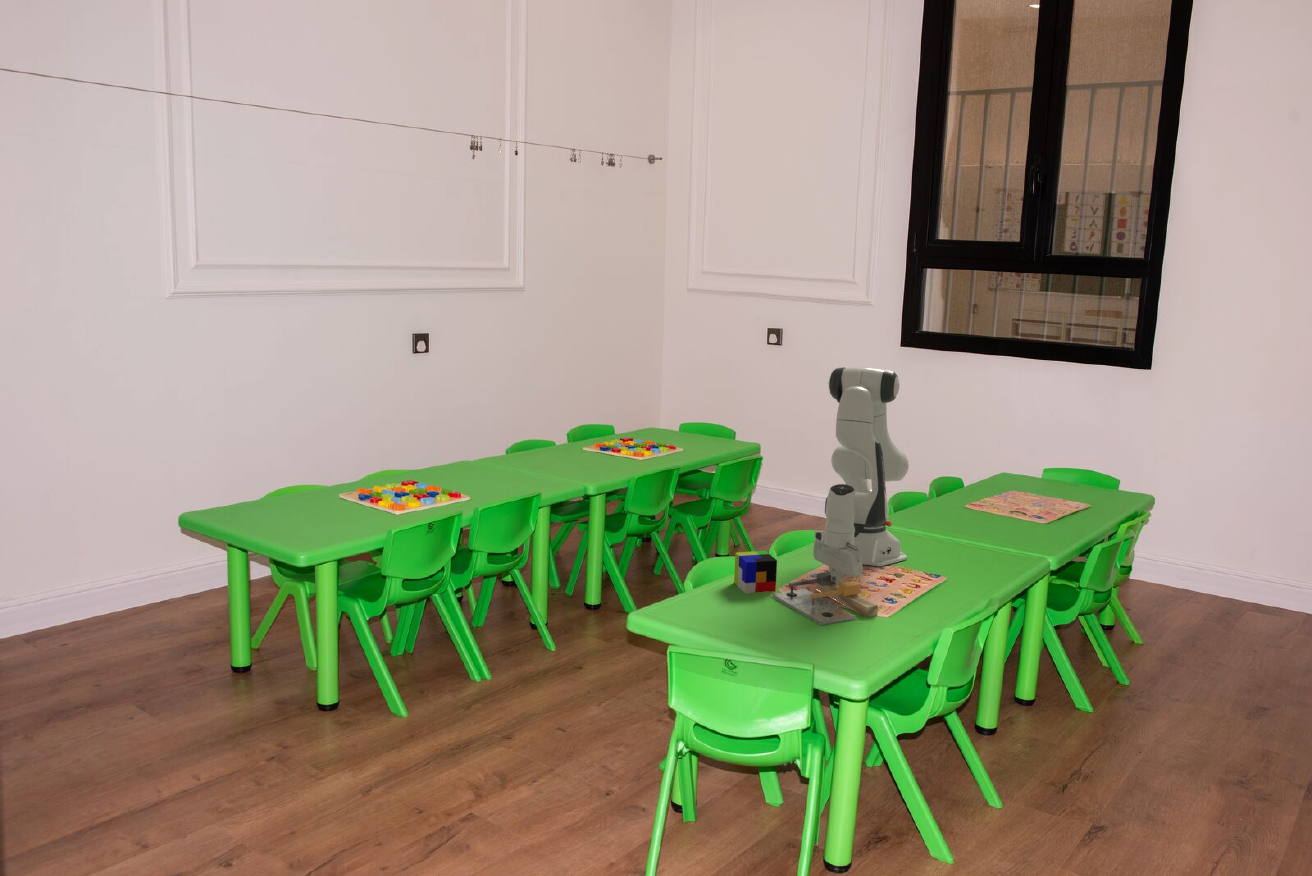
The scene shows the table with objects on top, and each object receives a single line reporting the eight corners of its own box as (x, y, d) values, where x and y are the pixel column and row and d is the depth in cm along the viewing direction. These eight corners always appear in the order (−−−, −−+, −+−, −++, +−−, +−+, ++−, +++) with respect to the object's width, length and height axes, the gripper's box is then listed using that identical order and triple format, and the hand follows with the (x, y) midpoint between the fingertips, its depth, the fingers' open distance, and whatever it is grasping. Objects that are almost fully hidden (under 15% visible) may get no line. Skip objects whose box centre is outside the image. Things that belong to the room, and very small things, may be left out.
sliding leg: (853, 595, 315) (854, 581, 314) (860, 599, 312) (861, 584, 311) (807, 603, 307) (808, 588, 306) (813, 607, 304) (814, 591, 303)
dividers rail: (828, 588, 326) (829, 569, 325) (880, 614, 304) (881, 595, 303) (783, 595, 318) (784, 576, 317) (832, 623, 296) (833, 603, 295)
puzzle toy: (745, 593, 319) (746, 562, 317) (734, 583, 328) (735, 552, 326) (775, 591, 322) (777, 560, 320) (763, 581, 331) (765, 550, 329)
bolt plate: (805, 591, 322) (805, 588, 321) (855, 619, 300) (855, 615, 300) (772, 597, 316) (772, 593, 316) (821, 625, 295) (821, 621, 294)
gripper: (869, 547, 307) (866, 591, 309) (827, 529, 324) (825, 571, 327) (851, 549, 304) (848, 594, 306) (810, 531, 322) (808, 573, 324)
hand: (836, 582), depth 317 cm, fingers closed
